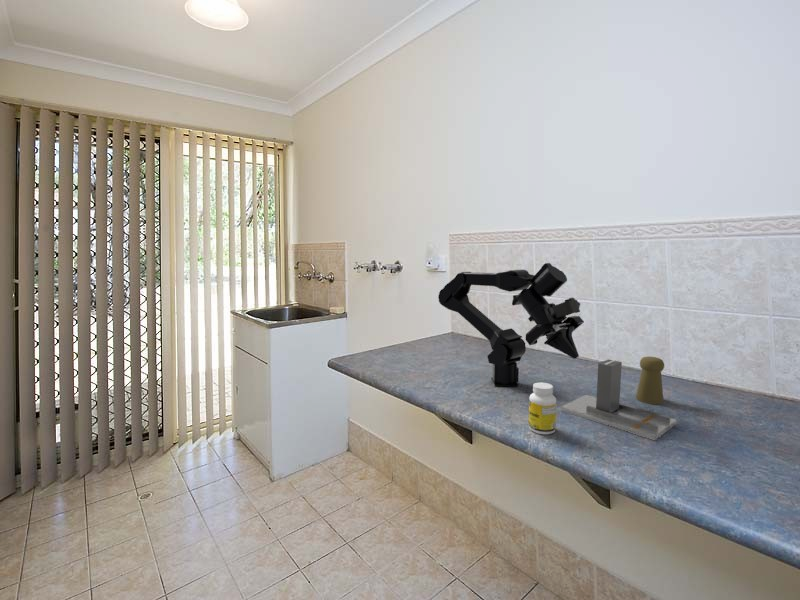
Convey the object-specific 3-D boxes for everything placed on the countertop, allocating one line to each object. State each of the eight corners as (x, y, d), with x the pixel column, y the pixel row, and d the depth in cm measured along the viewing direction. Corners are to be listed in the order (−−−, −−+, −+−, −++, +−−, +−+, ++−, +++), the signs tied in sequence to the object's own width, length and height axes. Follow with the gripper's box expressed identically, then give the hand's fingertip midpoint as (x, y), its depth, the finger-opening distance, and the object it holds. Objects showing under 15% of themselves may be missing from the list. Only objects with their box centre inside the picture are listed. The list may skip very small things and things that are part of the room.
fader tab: (595, 409, 93) (598, 362, 92) (605, 404, 96) (608, 358, 95) (609, 413, 91) (612, 365, 89) (619, 408, 94) (621, 361, 92)
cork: (636, 393, 106) (639, 353, 105) (663, 398, 103) (667, 356, 101) (634, 401, 101) (637, 358, 100) (663, 406, 98) (666, 362, 97)
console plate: (561, 410, 96) (561, 402, 96) (585, 398, 103) (586, 390, 103) (654, 440, 80) (655, 431, 80) (676, 424, 88) (676, 415, 88)
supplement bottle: (524, 424, 89) (525, 381, 87) (548, 423, 89) (549, 380, 88) (534, 435, 83) (536, 390, 82) (559, 434, 84) (561, 389, 82)
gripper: (537, 290, 94) (581, 344, 87) (578, 285, 106) (619, 333, 99) (509, 319, 101) (547, 371, 94) (549, 311, 113) (586, 357, 106)
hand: (576, 357), depth 98 cm, fingers closed
